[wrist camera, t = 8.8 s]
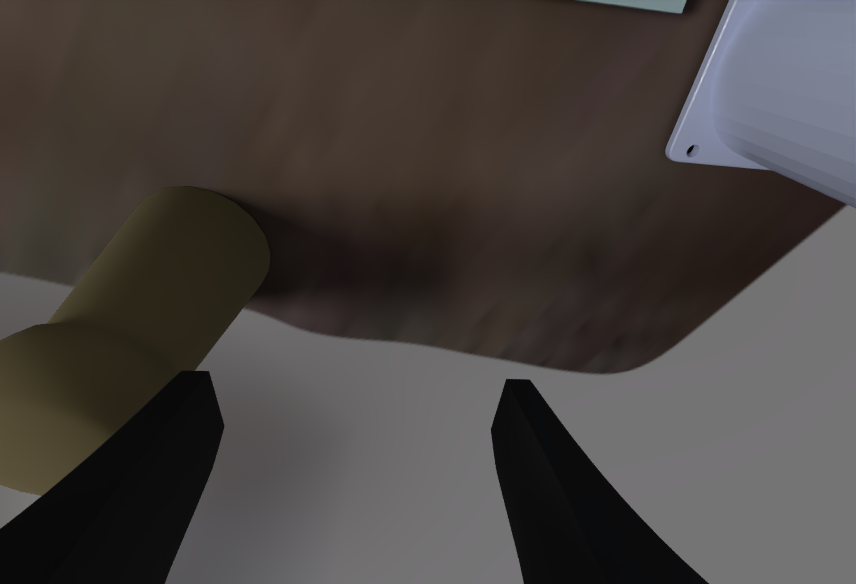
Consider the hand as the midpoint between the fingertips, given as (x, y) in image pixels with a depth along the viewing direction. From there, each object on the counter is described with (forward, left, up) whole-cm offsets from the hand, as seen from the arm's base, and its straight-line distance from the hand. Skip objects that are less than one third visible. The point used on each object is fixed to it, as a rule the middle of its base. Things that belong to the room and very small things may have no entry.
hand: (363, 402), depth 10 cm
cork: (+8, +2, -11) cm, 13 cm away
